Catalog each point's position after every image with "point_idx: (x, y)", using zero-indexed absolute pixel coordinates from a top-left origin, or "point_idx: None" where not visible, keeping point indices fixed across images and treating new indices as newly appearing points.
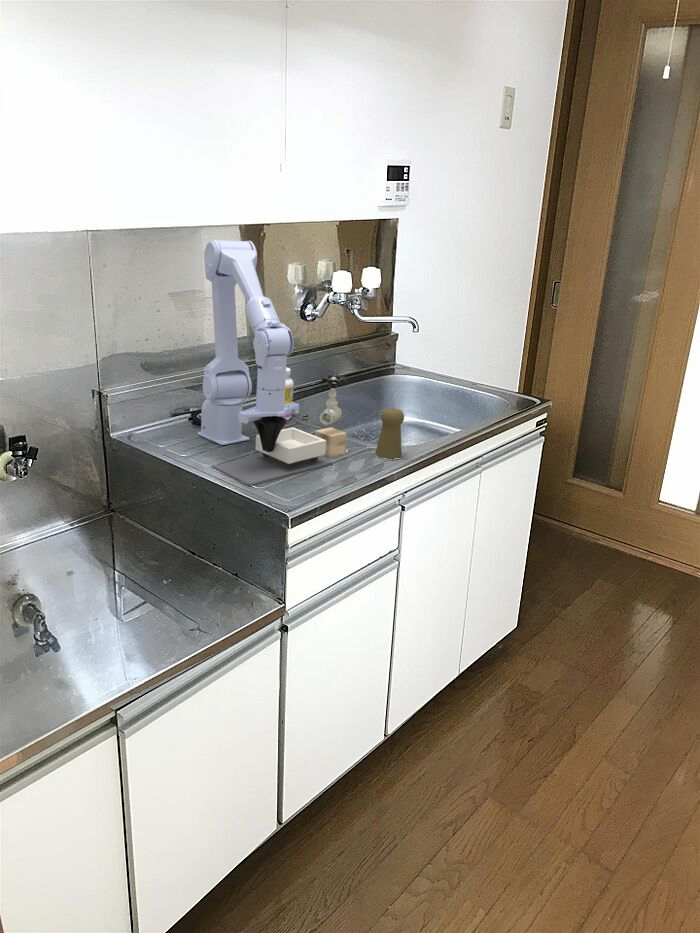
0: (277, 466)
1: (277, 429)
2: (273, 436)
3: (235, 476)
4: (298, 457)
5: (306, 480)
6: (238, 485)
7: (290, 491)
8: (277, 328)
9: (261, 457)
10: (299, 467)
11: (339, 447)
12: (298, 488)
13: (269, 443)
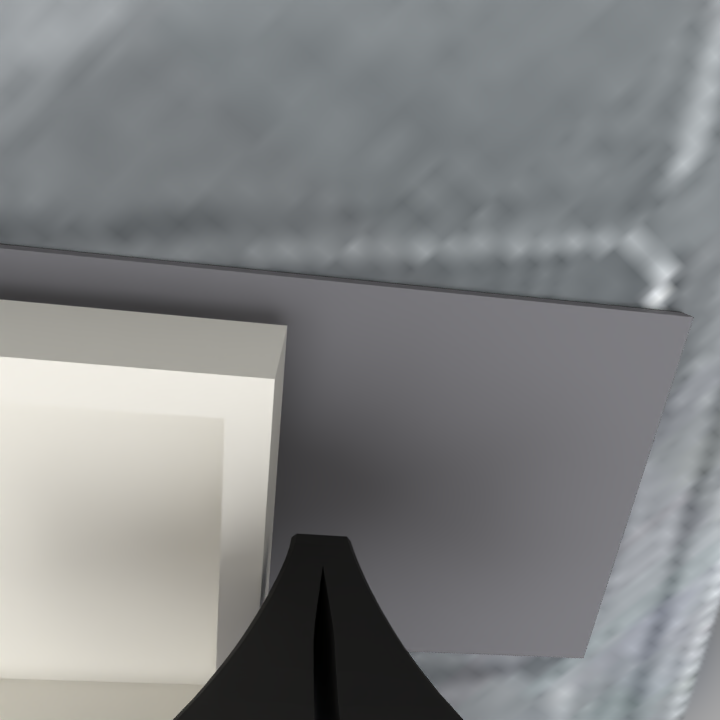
0: None
1: (287, 712)
2: (312, 649)
3: (635, 473)
4: (149, 325)
5: (260, 108)
6: (709, 374)
7: (560, 23)
8: None
9: None
10: None
11: None
12: (457, 22)
13: (369, 590)
